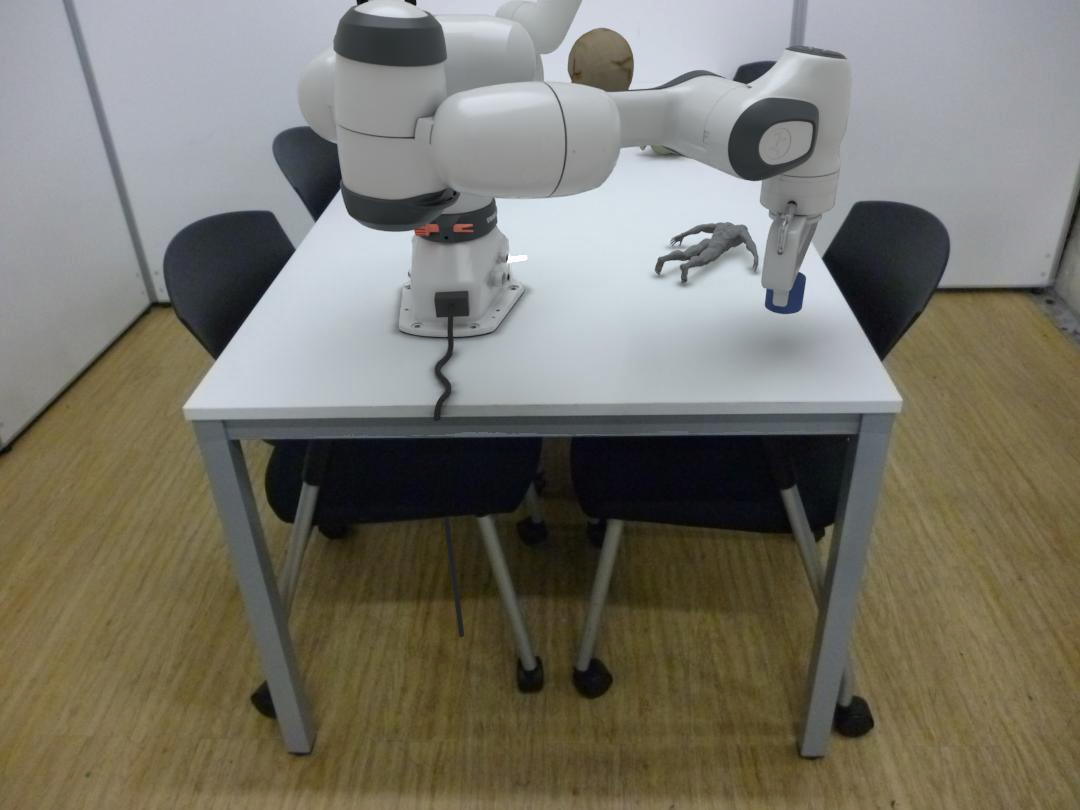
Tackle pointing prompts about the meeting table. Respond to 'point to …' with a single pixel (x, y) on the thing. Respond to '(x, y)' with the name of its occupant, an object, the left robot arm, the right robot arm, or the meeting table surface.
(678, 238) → the figurine
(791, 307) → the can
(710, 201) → the meeting table surface
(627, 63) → the skull
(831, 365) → the meeting table surface
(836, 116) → the left robot arm
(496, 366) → the meeting table surface
